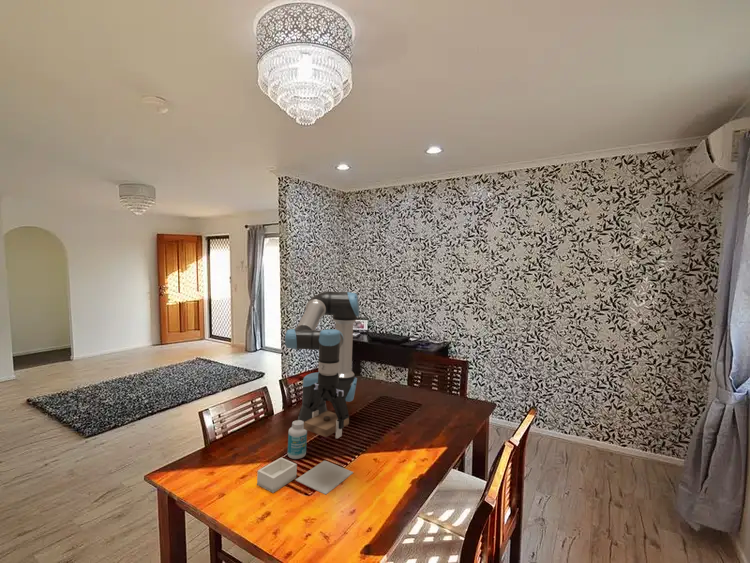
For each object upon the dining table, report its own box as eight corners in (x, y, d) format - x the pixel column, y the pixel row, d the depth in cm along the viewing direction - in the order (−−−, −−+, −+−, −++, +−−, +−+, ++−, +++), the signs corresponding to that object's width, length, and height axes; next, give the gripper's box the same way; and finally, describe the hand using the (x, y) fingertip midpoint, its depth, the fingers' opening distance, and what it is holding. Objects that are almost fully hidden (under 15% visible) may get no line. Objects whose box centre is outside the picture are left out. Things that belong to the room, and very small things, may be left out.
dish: (257, 484, 126) (257, 470, 125) (280, 470, 135) (281, 457, 135) (273, 493, 121) (273, 478, 121) (296, 477, 131) (296, 464, 131)
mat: (295, 480, 129) (295, 479, 129) (324, 461, 142) (324, 460, 142) (325, 494, 122) (325, 493, 121) (353, 473, 135) (353, 471, 135)
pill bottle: (290, 461, 141) (291, 427, 141) (285, 452, 148) (286, 420, 147) (308, 457, 145) (309, 424, 144) (303, 449, 151) (304, 417, 151)
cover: (303, 428, 129) (303, 419, 128) (326, 416, 140) (327, 408, 139) (326, 437, 123) (326, 427, 123) (348, 424, 134) (349, 415, 134)
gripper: (297, 369, 134) (296, 427, 134) (348, 381, 121) (345, 445, 122) (311, 365, 140) (309, 421, 141) (360, 376, 128) (358, 437, 128)
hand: (326, 432), depth 131 cm, fingers closed on cover, 10 cm apart
